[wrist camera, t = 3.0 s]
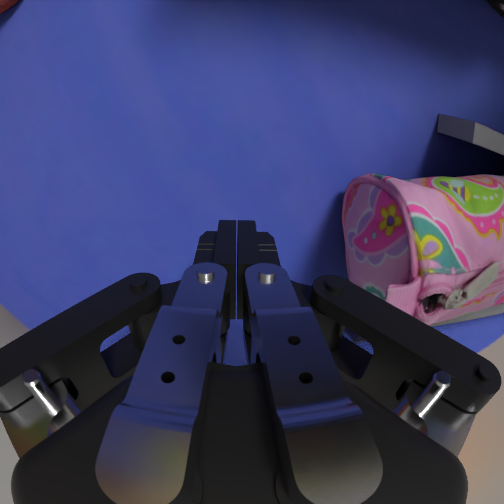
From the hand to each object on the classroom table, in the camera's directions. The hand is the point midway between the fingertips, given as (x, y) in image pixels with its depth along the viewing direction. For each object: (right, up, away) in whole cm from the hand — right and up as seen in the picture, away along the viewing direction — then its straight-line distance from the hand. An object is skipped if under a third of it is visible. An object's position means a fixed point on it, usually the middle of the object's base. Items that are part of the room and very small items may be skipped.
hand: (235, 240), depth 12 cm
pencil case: (+16, +2, +5) cm, 17 cm away
